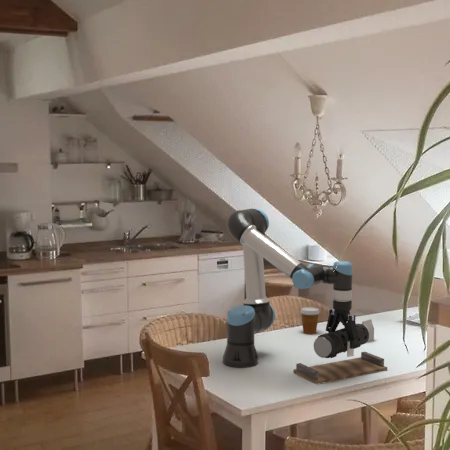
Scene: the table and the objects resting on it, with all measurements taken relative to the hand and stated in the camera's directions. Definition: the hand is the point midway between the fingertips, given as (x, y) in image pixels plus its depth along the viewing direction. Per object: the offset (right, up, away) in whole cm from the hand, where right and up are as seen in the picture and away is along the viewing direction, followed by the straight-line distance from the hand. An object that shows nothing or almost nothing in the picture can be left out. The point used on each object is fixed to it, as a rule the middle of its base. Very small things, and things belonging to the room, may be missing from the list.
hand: (341, 352), depth 281 cm
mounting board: (0, -8, +1) cm, 8 cm away
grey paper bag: (+20, -3, +46) cm, 51 cm away
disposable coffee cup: (-5, -2, +61) cm, 61 cm away
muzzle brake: (0, -1, 0) cm, 1 cm away
